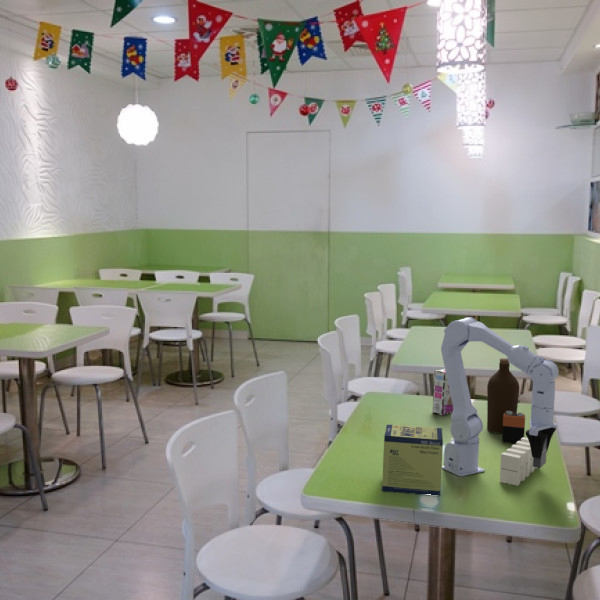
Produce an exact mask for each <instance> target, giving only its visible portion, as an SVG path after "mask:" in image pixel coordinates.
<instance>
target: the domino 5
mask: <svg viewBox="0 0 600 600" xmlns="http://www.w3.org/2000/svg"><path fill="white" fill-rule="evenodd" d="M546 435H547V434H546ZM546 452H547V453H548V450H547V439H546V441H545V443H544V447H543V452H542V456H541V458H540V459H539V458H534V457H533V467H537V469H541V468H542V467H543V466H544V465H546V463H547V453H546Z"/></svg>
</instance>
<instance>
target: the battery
mask: <svg viewBox="0 0 600 600" xmlns="http://www.w3.org/2000/svg"><path fill="white" fill-rule="evenodd" d="M525 426H526V414H524V413H523V412H517V414H516V413H512V411H506V413H504V415H503V432H502V434H501V442H502V443H507V444H513V443H514V444H513V445H516V442H518V441H521V438H523V437H524V438H525V432H526V431H525V430H526V427H525Z"/></svg>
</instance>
